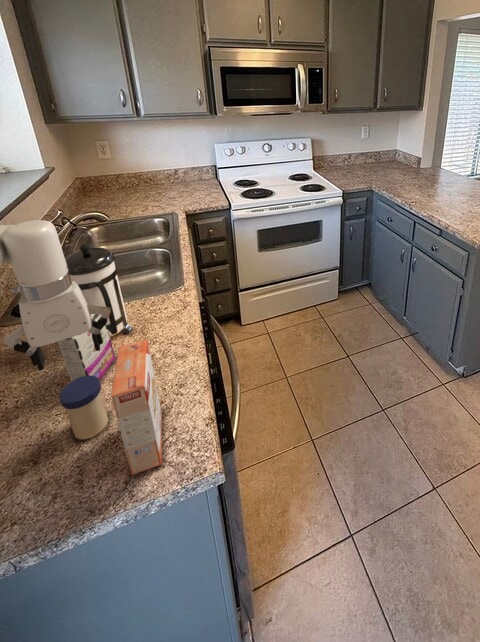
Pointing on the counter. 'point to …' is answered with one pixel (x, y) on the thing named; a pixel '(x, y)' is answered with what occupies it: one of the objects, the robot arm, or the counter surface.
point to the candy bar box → (87, 354)
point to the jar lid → (80, 392)
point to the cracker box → (138, 406)
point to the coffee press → (99, 283)
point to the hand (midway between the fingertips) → (71, 356)
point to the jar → (88, 418)
